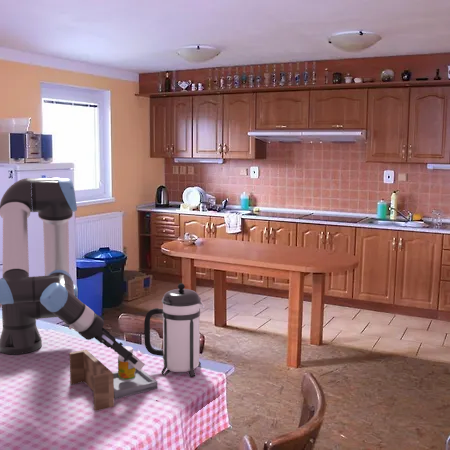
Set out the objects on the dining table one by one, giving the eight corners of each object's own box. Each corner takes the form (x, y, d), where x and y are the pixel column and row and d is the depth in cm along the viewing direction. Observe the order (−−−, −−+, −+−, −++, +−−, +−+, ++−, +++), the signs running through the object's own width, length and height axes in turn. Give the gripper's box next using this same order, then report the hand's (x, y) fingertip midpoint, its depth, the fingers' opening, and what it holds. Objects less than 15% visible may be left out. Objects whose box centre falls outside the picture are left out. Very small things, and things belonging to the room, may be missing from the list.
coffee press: (188, 357, 199) (188, 275, 195) (211, 373, 185) (212, 285, 181) (143, 367, 190) (142, 281, 185) (164, 384, 176) (164, 292, 172)
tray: (97, 382, 177) (97, 375, 177) (138, 373, 185) (138, 366, 185) (114, 399, 166) (114, 392, 166) (157, 388, 173) (157, 381, 173)
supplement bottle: (114, 378, 175) (114, 348, 174) (128, 373, 179) (128, 344, 178) (125, 383, 171) (124, 353, 170) (139, 378, 175) (138, 348, 174)
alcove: (70, 383, 177) (69, 352, 175) (87, 379, 180) (86, 349, 178) (95, 411, 158) (94, 377, 157) (114, 406, 161) (113, 373, 160)
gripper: (67, 324, 172) (118, 364, 183) (88, 341, 157) (142, 384, 168) (84, 305, 174) (133, 345, 185) (106, 320, 159) (158, 363, 170)
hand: (137, 364), depth 177 cm, fingers closed on supplement bottle, 5 cm apart
